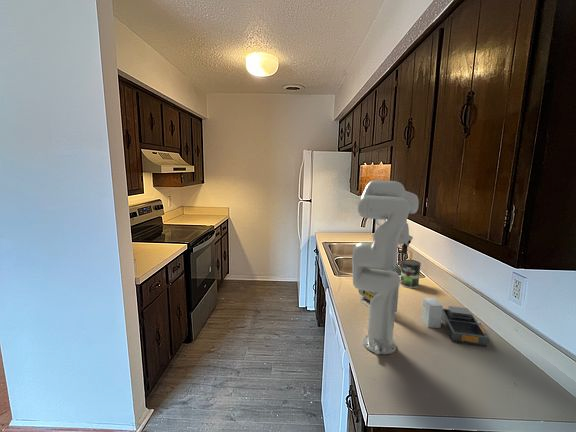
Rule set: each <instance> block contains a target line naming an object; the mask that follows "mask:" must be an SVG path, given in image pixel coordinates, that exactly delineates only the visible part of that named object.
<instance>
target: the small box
mask: <svg viewBox="0 0 576 432" xmlns="http://www.w3.org/2000/svg"><path fill="white" fill-rule="evenodd" d="M421 307H422V309H421V318H420V319H421V320H422V321H423V323H424V324H425V326H427V328H440V329H441V328H442V327H441V326H442V319H441V318H442V309H444V308H443V307H444V306H443V305H442V303H440V301H438V300H437V298H436V297H435V298H434V297H432V298H431V297H423V298H422V306H421Z"/></svg>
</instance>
